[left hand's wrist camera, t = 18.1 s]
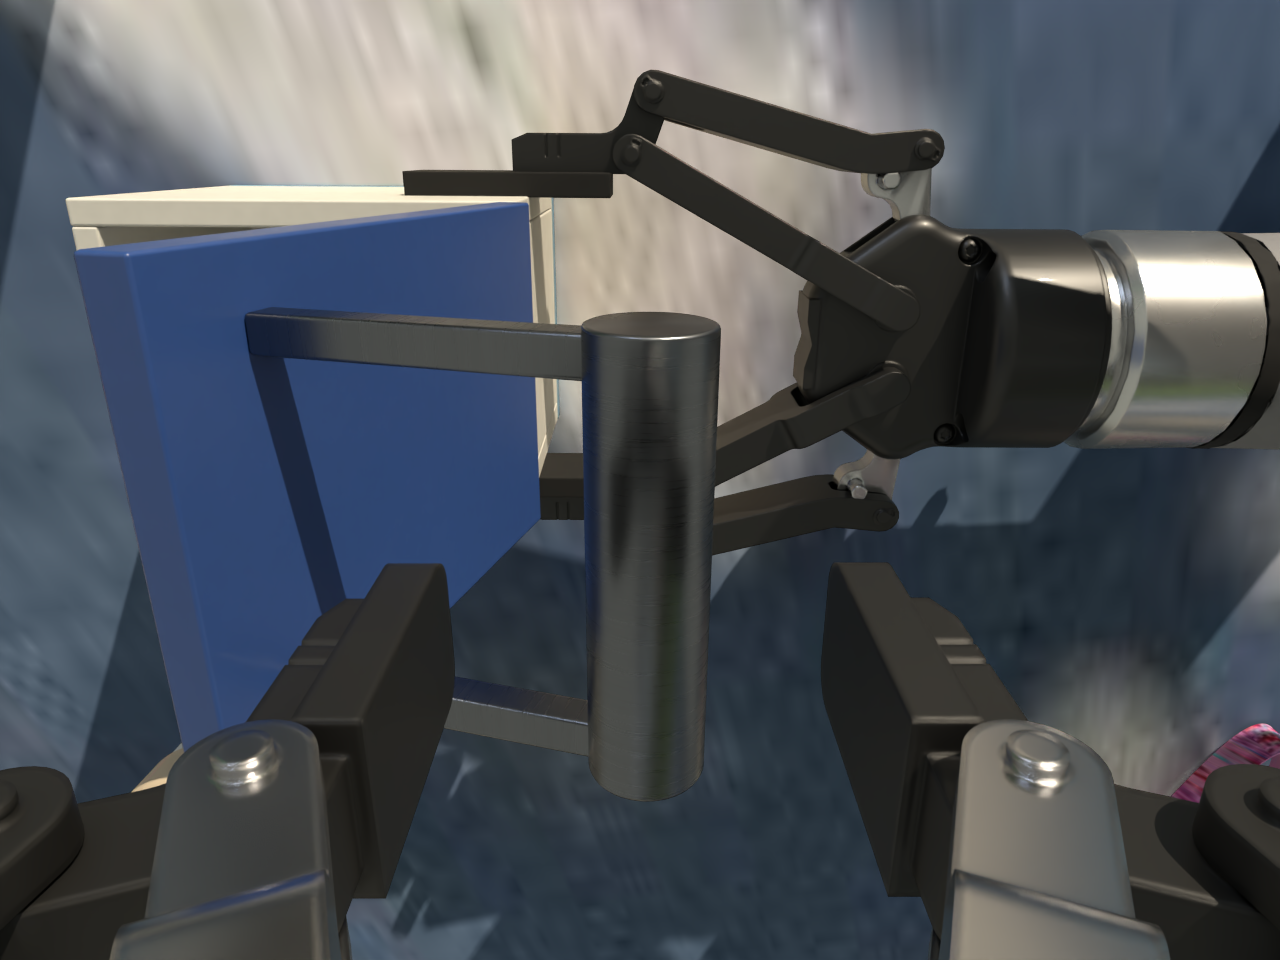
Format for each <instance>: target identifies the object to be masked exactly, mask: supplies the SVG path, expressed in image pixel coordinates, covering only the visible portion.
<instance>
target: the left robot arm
mask: <svg viewBox="0 0 1280 960" xmlns="http://www.w3.org/2000/svg"><path fill="white" fill-rule="evenodd" d="M454 681H455V662H454V650H453V639H452V628H451V617H450V606H449V595H448V584H447V576H446V572H445V568H444V566H443V565H442V564H441V563H388V564H386V565H385V566H384V568H383V569H382V571H381V572H380V574H379V576H378V577H377V579H376V581H375V582H374V584H373V585H372V587H371V589H370V590H369V592H368V594H367V595H366V597H365V598H364V599H345V600H343V601H342V602H340V603H339V604H337V605H336V606H334V607H333V608H332V609H330V610H329V611H327V612H326V613H324V614H323V615H321V616H320V617H318V618H317V619H316V621H315V622H314V624H313V625H312V626H311V628H310V629H309V631H308V632H307V634H306V635H305V637H304V638H303V640H302V644H301V646H298V647H297V648H296V650H295V651H294V653H293V654H292V655H291V657H290V658H289V660H288V665H285V666H284V667H283V669H282V670H281V671H280V673H279V674H278V676H277V677H276V679H275V680H274V682H273V683H272V685H271V686H270V687H269V689H268V690H267V692H266V693H265V695H264V696H263V698H262V699H261V700H260V702H259V703H258V705H257V706H256V708H255V709H254V711H253V712H252V714H251V715H250V716H249V718H248V719H247V721H246V722H245V723H241V724H237V725H234V726H231V727H228V728H225V729H222V730H220V731H218V732H215V733H213V734H211V735H209V736H207V737H206V738H204V739H202V740H200V741H199V742H197V743H196V744H194V745H193V746H192V747H190V748H189V749H188V750H187V751H185V752H184V753H183V754H182V755H181V756H180V757H179V758H178V760H177V761H176V762H175V763H174V765H173V766H172V768H171V770H170V771H169V774H168V777H167V781H166V783H165V784H162V785H159V786H156V787H152V788H148V789H144V790H140V791H135V792H131V793H126V794H121V795H117V796H112V797H107V798H102V799H98V800H93V801H88V802H84V803H79V804H77V801H76V798H75V795H74V791H73V788H72V785H71V782H70V780H69V778H68V777H67V776H66V775H64V774H63V773H61V772H59V771H57V770H55V769H51V768H47V767H37V766H32V767H18V768H10V769H5V770H1V771H0V960H352V951H351V943H350V937H349V930H348V924H347V918H346V914H347V911H348V909H349V906H350V904H351V901H352V898H386V896H387V893H388V890H389V887H390V885H391V882H392V879H393V876H394V873H395V870H396V867H397V864H398V861H399V858H400V855H401V852H402V849H403V846H404V843H405V840H406V837H407V835H408V832H409V829H410V826H411V823H412V820H413V817H414V814H415V811H416V808H417V805H418V802H419V799H420V796H421V793H422V790H423V787H424V784H425V782H426V779H427V776H428V773H429V770H430V767H431V764H432V761H433V758H434V755H435V752H436V749H437V746H438V743H439V740H440V737H441V734H442V731H443V729H444V726H445V723H446V720H447V717H448V714H449V711H450V708H451V704H452V699H453V692H454ZM821 684H822V693H823V700H824V704H825V708H826V711H827V714H828V717H829V720H830V723H831V726H832V729H833V732H834V735H835V738H836V741H837V744H838V747H839V750H840V753H841V756H842V759H843V762H844V765H845V768H846V771H847V774H848V777H849V780H850V783H851V786H852V789H853V792H854V795H855V798H856V801H857V804H858V807H859V810H860V813H861V816H862V819H863V822H864V825H865V828H866V831H867V834H868V837H869V840H870V843H871V846H872V849H873V852H874V855H875V858H876V861H877V864H878V867H879V870H880V873H881V876H882V879H883V882H884V885H885V888H886V891H887V894H888V897H921V898H922V900H923V903H924V906H925V908H926V911H927V914H928V916H929V919H930V921H931V924H932V930H931V937H930V943H929V951H928V960H1280V769H1278V768H1274V767H1269V766H1263V765H1256V764H1234V765H1227V766H1223V767H1220V768H1218V769H1216V770H1214V771H1213V772H1212V773H1211V774H1210V775H1208V777H1207V779H1206V781H1205V784H1204V788H1203V791H1202V795H1201V798H1200V801H1199V803H1197V802H1192V801H1188V800H1183V799H1178V798H1173V797H1169V796H1164V795H1159V794H1155V793H1150V792H1145V791H1140V790H1136V789H1131V788H1127V787H1123V786H1119V785H1116V784H1114V781H1113V777H1112V774H1111V771H1110V770H1109V768H1108V766H1107V765H1106V763H1105V762H1104V761H1103V760H1102V758H1101V757H1100V756H1099V755H1098V754H1097V753H1096V752H1095V751H1093V750H1092V749H1091V748H1090V747H1088V746H1087V745H1086V744H1084V743H1083V742H1081V741H1080V740H1078V739H1076V738H1074V737H1073V736H1071V735H1069V734H1067V733H1065V732H1062V731H1060V730H1058V729H1055V728H1052V727H1049V726H1046V725H1043V724H1039V723H1035V722H1030V721H1028V720H1027V719H1026V717H1025V716H1024V714H1023V713H1022V711H1021V710H1020V708H1019V707H1018V705H1017V704H1016V702H1015V701H1014V699H1013V698H1012V696H1011V695H1010V693H1009V692H1008V691H1007V689H1006V688H1005V686H1004V685H1003V683H1002V682H1001V680H1000V679H999V677H998V676H997V674H996V673H995V671H994V670H993V668H992V667H991V666H990V664H986V658H985V657H984V655H983V654H982V652H981V651H980V649H979V648H978V646H977V645H973V639H972V638H971V636H970V635H969V633H968V632H967V630H966V629H965V627H964V626H963V624H962V623H961V621H960V620H959V618H958V617H957V616H955V615H954V614H952V613H951V612H949V611H948V610H946V609H945V608H943V607H942V606H940V605H939V604H937V603H936V602H935V601H933V600H932V599H930V598H910V596H909V595H908V593H907V591H906V590H905V588H904V586H903V585H902V583H901V581H900V580H899V578H898V576H897V575H896V573H895V571H894V570H893V568H892V566H891V565H890V564H889V563H833V565H832V566H831V569H830V573H829V579H828V590H827V601H826V612H825V624H824V635H823V646H822V658H821Z"/></svg>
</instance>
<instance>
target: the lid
mask: <svg viewBox="0 0 1280 960" xmlns="http://www.w3.org/2000/svg"><path fill="white" fill-rule="evenodd" d="M74 259H75V263H76V268H77V273H78V277H79V282H80V286H81V291H82V295H83V300H84V304H85V309H86V313H87V318H88V322H89V327H90V331H91V336H92V340H93V345H94V349H95V354H96V358H97V363H98V367H99V372H100V376H101V381H102V385H103V390H104V394H105V399H106V403H107V408H108V412H109V417H110V421H111V426H112V431H113V435H114V440H115V444H116V449H117V453H118V458H119V462H120V467H121V471H122V476H123V480H124V485H125V489H126V494H127V498H128V503H129V507H130V512H131V516H132V521H133V525H134V530H135V534H136V539H137V543H138V548H139V552H140V557H141V561H142V566H143V570H144V575H145V579H146V584H147V589H148V593H149V598H150V602H151V607H152V611H153V616H154V620H155V625H156V629H157V634H158V638H159V643H160V647H161V652H162V656H163V661H164V665H165V670H166V674H167V679H168V683H169V688H170V692H171V697H172V701H173V706H174V710H175V715H176V719H177V724H178V728H179V733H180V737H181V742H182V747H183V751H184V752H185V751H187V750H188V749H189V748H190V747H192V746H193V745H194V744H196V743H197V742H199V741H200V740H202V739H204V738H206V737H207V736H209V735H211V734H213V733H215V732H218V731H220V730H222V729H225V728H228V727H231V726H234V725H237V724H241V723H245V722H246V721H247V719H248V718H249V716H250V715H251V714H252V712H253V711H254V709H255V708H256V706H257V705H258V703H259V702H260V700H261V699H262V698H263V696H264V695H265V693H266V692H267V690H268V689H269V687H270V686H271V685H272V683H273V682H274V680H275V679H276V677H277V676H278V674H279V673H280V671H281V670H282V669H283V667H284V666H285V665H288V660H289V658H290V657H291V655H292V654H293V653H294V651H295V650H296V648H297V647H298V646H301V644H302V640H303V638H304V637H305V635H306V634H307V632H308V631H309V629H310V628H311V626H312V625H313V624H314V622H315V621H316V619H317V618H318V617H320V616H321V615H323V614H324V613H326V612H327V611H329V610H330V609H332V608H333V607H334V606H336V605H337V604H339V603H340V602H342V601H343V600H345V599H364V598H365V597H366V595H367V594H368V592H369V590H370V589H371V587H372V585H373V584H374V582H375V581H376V579H377V577H378V576H379V574H380V572H381V571H382V569H383V568H384V566H385V565H386V564H388V563H441V564H442V565H443V566H444V568H445V572H446V576H447V584H448V595H449V606H450V609H451V608H452V607H453V606H454V605H455V604H456V603H457V602H458V601H459V600H460V599H461V598H462V597H463V596H464V595H465V594H466V593H467V592H468V591H469V590H470V589H471V588H472V587H473V586H474V585H475V584H476V583H477V582H478V581H479V580H480V579H481V578H482V577H483V576H484V575H485V574H486V573H487V572H488V571H489V570H490V569H491V568H492V567H493V566H494V564H495V563H496V562H497V561H498V560H499V559H500V558H501V557H502V556H503V555H504V554H505V553H506V552H507V551H508V550H509V549H510V548H511V547H512V546H513V545H514V544H515V543H516V542H517V541H518V540H519V539H520V538H521V537H522V536H523V535H524V534H525V533H526V532H527V531H528V530H529V529H530V528H531V527H532V526H533V525H534V524H535V523H536V522H537V521H538V520H539V519H540V518H541V516H540V489H539V463H538V436H537V410H536V383H535V377H536V378H548V379H561V380H574V381H582V417H583V472H584V528H585V583H586V638H587V694H588V700H583V699H578V698H572V697H566V696H561V695H555V694H550V693H544V692H538V691H533V690H527V689H522V688H516V687H510V686H505V685H499V684H493V683H488V682H482V681H477V680H471V679H465V678H460V677H455V681H454V692H453V699H452V704H451V708H450V711H449V714H448V717H447V720H446V723H445V726H444V728H445V729H451V730H456V731H461V732H466V733H471V734H476V735H481V736H486V737H491V738H497V739H502V740H507V741H512V742H517V743H522V744H527V745H532V746H537V747H543V748H548V749H553V750H558V751H563V752H568V753H573V754H578V755H583V756H589V767H590V771H591V773H592V775H593V777H594V778H595V780H596V781H597V782H598V783H599V785H601V786H602V787H603V788H604V789H606V790H607V791H609V792H610V793H612V794H614V795H616V796H619V797H622V798H625V799H629V800H635V801H659V800H664V799H669V798H672V797H675V796H677V795H679V794H681V793H683V792H685V791H686V790H688V789H689V788H690V787H692V786H693V785H694V783H695V782H696V781H697V780H698V778H699V777H700V775H701V772H702V770H703V765H704V740H705V715H706V690H707V665H708V640H709V615H710V590H711V565H712V540H713V515H714V490H715V465H716V440H717V415H718V390H719V365H720V340H721V328H720V325H719V324H718V323H717V322H715V321H713V320H710V319H708V318H704V317H700V316H695V315H689V314H681V313H668V312H628V313H616V314H608V315H602V316H598V317H594V318H591V319H589V320H587V321H585V322H584V323H583V324H582V326H577V325H561V324H544V323H533V304H532V277H531V251H530V224H529V205H528V203H524V202H495V203H486V204H477V205H468V206H459V207H450V208H442V209H433V210H424V211H415V212H406V213H397V214H388V215H379V216H371V217H362V218H353V219H344V220H335V221H326V222H317V223H309V224H300V225H291V226H282V227H273V228H264V229H255V230H246V231H238V232H229V233H220V234H211V235H202V236H193V237H184V238H175V239H167V240H158V241H149V242H140V243H131V244H122V245H113V246H104V247H96V248H87V249H79V250H77V251H75V252H74Z"/></svg>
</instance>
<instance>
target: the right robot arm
mask: <svg viewBox="0 0 1280 960" xmlns="http://www.w3.org/2000/svg"><path fill="white" fill-rule="evenodd" d="M664 120H665V121H669V122H672V123H675V124H679V125H682V126H686V127H689V128H693V129H696V130H699V131H703V132H706V133H710V134H713V135H716V136H720V137H723V138H727V139H730V140H733V141H737V142H740V143H744V144H747V145H751V146H754V147H757V148H761V149H764V150H768V151H771V152H774V153H778V154H781V155H785V156H788V157H791V158H795V159H798V160H802V161H805V162H809V163H812V164H815V165H819V166H822V167H826V168H829V169H834V170H838V171H845V172H854V173H861V185H862V187H863V189H864V191H865V192H866V193H867V194H868V195H870V196H873V197H878V198H882V199H884V200H885V201H887V202H888V203H889V205H890V207H891V209H892V214H893V217H892V218H890V219H888V220H887V221H885V222H884V223H883V224H881V225H880V226H878V227H877V228H875V229H874V230H873V231H871V232H870V233H868V234H867V235H865V236H864V237H862V238H861V239H860V240H858V241H857V242H855V243H854V244H852V245H851V246H850V247H848V248H847V249H845V250H844V251H842V252H841V253H838V252H836V251H834V250H833V249H831V248H829V247H828V246H826V245H824V244H823V243H821V242H819V241H817V240H816V239H814V238H812V237H810V236H809V235H807V234H805V233H804V232H802V231H800V230H798V229H797V228H795V227H793V226H792V225H790V224H788V223H787V222H785V221H783V220H782V219H780V218H778V217H776V216H775V215H773V214H771V213H770V212H768V211H766V210H765V209H763V208H761V207H760V206H758V205H756V204H755V203H753V202H751V201H749V200H748V199H746V198H744V197H743V196H741V195H739V194H738V193H736V192H734V191H733V190H731V189H729V188H727V187H726V186H724V185H722V184H721V183H719V182H717V181H716V180H714V179H712V178H711V177H709V176H707V175H706V174H704V173H702V172H700V171H699V170H697V169H695V168H694V167H692V166H690V165H689V164H687V163H685V162H684V161H682V160H680V159H679V158H677V157H675V156H673V155H672V154H670V153H668V152H667V151H665V150H663V149H662V148H660V147H658V146H657V145H655V144H656V141H657V138H658V136H659V133H660V130H661V127H662V124H663V121H664ZM944 149H945V147H944V140H943V139H942V137H941V135H940V134H939V133H937V132H936V131H934V130H930V129H920V130H909V131H898V132H887V133H876V134H870V133H867V132H863V131H860V130H857V129H853V128H850V127H847V126H843V125H840V124H836V123H833V122H830V121H826V120H823V119H820V118H816V117H813V116H810V115H806V114H803V113H800V112H796V111H793V110H790V109H786V108H783V107H780V106H776V105H773V104H769V103H766V102H763V101H759V100H756V99H753V98H749V97H746V96H743V95H739V94H736V93H733V92H729V91H726V90H723V89H719V88H716V87H712V86H709V85H706V84H702V83H699V82H696V81H692V80H689V79H686V78H682V77H679V76H676V75H672V74H669V73H666V72H662V71H659V70H649V71H646V72H644V73H642V74H641V75H640V76H639V77H638V78H637V81H636V83H635V85H634V89H633V92H632V95H631V98H630V101H629V104H628V107H627V110H626V113H625V116H624V118H623V120H622V122H621V123H620V124H619V126H618V127H616V128H615V129H614V130H612V131H610V132H607V133H526V134H524V135H521V136H519V137H517V138H514V139H512V158H513V171H510V170H415V171H403V183H404V194H405V196H526V197H534V198H611V196H612V195H613V174H626V175H628V176H630V177H632V178H633V179H635V180H637V181H638V182H640V183H642V184H644V185H645V186H647V187H649V188H651V189H652V190H654V191H656V192H657V193H659V194H661V195H663V196H664V197H666V198H668V199H669V200H671V201H673V202H675V203H676V204H678V205H680V206H681V207H683V208H685V209H687V210H688V211H690V212H692V213H694V214H695V215H697V216H699V217H700V218H702V219H704V220H706V221H707V222H709V223H711V224H712V225H714V226H716V227H718V228H719V229H721V230H723V231H724V232H726V233H728V234H730V235H731V236H733V237H735V238H737V239H738V240H740V241H742V242H743V243H745V244H747V245H749V246H750V247H752V248H754V249H755V250H757V251H759V252H761V253H762V254H764V255H766V256H767V257H769V258H771V259H773V260H774V261H776V262H778V263H779V264H781V265H783V266H785V267H786V268H788V269H790V270H791V271H793V272H794V273H796V274H798V275H799V276H801V277H803V278H804V279H806V280H808V281H807V282H806V284H805V286H804V289H803V291H799V298H798V317H799V322H800V327H801V333H802V334H801V338H800V341H799V344H798V346H797V349H796V352H795V355H794V369H793V376H794V378H795V379H796V381H797V383H795V384H793V385H791V386H789V387H787V388H785V389H783V390H781V391H779V392H777V393H776V394H775V395H773V396H772V397H771V399H770V400H769V401H767V402H766V403H764V404H762V405H760V406H758V407H756V408H754V409H752V410H750V411H748V412H746V413H744V414H742V415H740V416H738V417H736V418H734V419H732V420H730V421H728V422H726V423H724V424H722V425H720V426H718V427H717V440H716V465H715V486H717V485H719V484H721V483H723V482H725V481H727V480H729V479H731V478H733V477H735V476H738V475H740V474H742V473H744V472H746V471H748V470H750V469H752V468H754V467H756V466H758V465H760V464H762V463H764V462H766V461H768V460H770V459H772V458H774V457H776V456H778V455H780V454H782V453H784V452H786V451H789V450H791V449H802V448H806V447H808V446H810V445H813V444H815V443H817V442H819V441H821V440H823V439H825V438H827V437H829V436H831V435H833V434H835V433H837V432H839V431H841V430H842V431H844V432H845V433H846V434H848V435H849V436H850V437H852V438H853V439H854V440H856V441H857V442H858V443H860V444H861V445H862V446H864V447H865V448H866V449H867V452H866V453H865V455H864V456H863V457H862V458H861V459H860V460H857V461H855V462H850V463H845V464H842V465H841V466H840V467H838V468H837V470H836V471H835V473H834V475H815V476H809V477H804V478H799V479H795V480H791V481H787V482H782V483H778V484H774V485H770V486H765V487H761V488H757V489H753V490H748V491H744V492H740V493H736V494H732V495H727V496H723V497H719V498H715V499H714V515H713V540H712V555H716V554H720V553H725V552H729V551H733V550H738V549H742V548H747V547H751V546H755V545H760V544H764V543H768V542H773V541H777V540H781V539H786V538H790V537H794V536H799V535H803V534H807V533H812V532H816V531H820V530H825V529H829V528H833V527H837V528H848V529H859V530H870V531H886V530H889V529H891V528H892V527H893V526H894V525H895V524H896V523H897V521H898V519H899V511H898V509H897V507H896V505H895V504H894V503H893V501H892V494H893V490H894V485H895V481H896V476H897V471H898V467H899V462H900V459H901V458H904V457H907V456H909V455H911V454H913V453H915V452H917V451H919V450H922V449H925V448H929V447H935V446H945V447H1006V448H1049V447H1054V446H1056V445H1058V444H1060V443H1062V442H1065V443H1066V444H1067V445H1069V446H1071V447H1076V448H1080V449H1094V448H1177V447H1186V448H1204V449H1209V448H1241V449H1280V233H1236V232H1220V231H1151V230H1097V231H1091V232H1089V233H1087V234H1085V235H1083V236H1080V235H1078V234H1077V233H1075V232H1073V231H1070V230H1051V229H956V228H950V227H948V226H946V225H944V224H942V223H941V222H939V221H938V220H936V219H935V218H933V217H930V199H931V169H932V168H933V167H934V166H935V165H936V164H938V163H939V161H940V160H941V158H942V157H943V153H944ZM539 489H540V516H541V518H540V519H542V520H557V519H559V520H568V519H570V520H584V472H583V453H547V454H546V457H545V460H544V464H543V467H542V470H541V473H540V477H539Z"/></svg>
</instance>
